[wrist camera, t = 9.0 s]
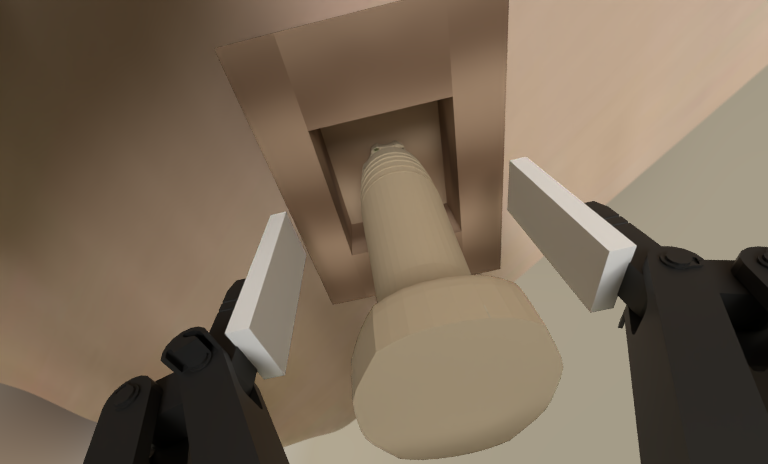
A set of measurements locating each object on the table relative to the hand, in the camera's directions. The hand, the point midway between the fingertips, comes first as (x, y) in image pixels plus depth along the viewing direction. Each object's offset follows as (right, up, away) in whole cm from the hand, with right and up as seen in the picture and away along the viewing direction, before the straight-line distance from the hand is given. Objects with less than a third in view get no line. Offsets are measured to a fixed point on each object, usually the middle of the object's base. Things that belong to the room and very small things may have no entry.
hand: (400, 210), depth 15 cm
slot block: (-1, +4, +5) cm, 6 cm away
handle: (-1, +4, +5) cm, 6 cm away
